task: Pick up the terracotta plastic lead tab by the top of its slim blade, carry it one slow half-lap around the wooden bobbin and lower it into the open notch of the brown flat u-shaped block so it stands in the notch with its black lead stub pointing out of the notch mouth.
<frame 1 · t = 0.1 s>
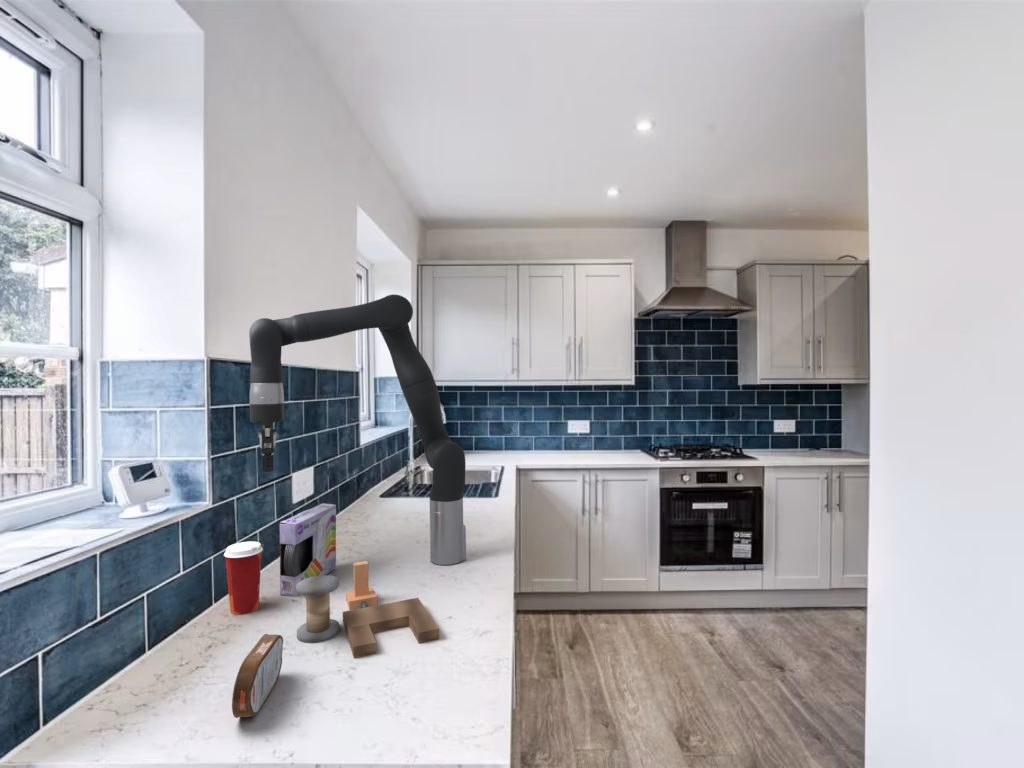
hand: (268, 468, 126), 29 cm above the countertop, fingers open, 8 cm apart
cake pan box: (309, 583, 130), on the countertop
tin: (261, 700, 82), on the countertop
bobbin: (318, 632, 104), on the countertop
brown flat u-shaped block: (389, 629, 105), on the countertop
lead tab: (361, 602, 118), on the countertop
paper cup: (244, 609, 115), on the countertop
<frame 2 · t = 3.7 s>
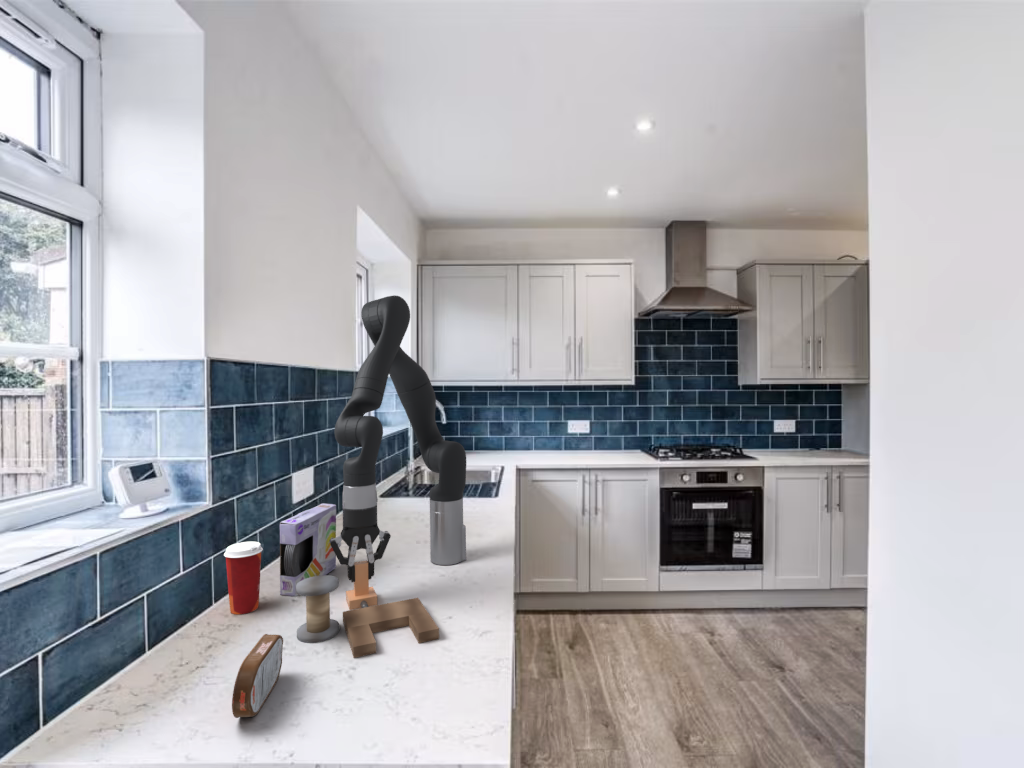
hand: (361, 579, 118), 5 cm above the countertop, fingers closed on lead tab, 3 cm apart
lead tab: (361, 602, 118), on the countertop, touching gripper
everything else where it was.
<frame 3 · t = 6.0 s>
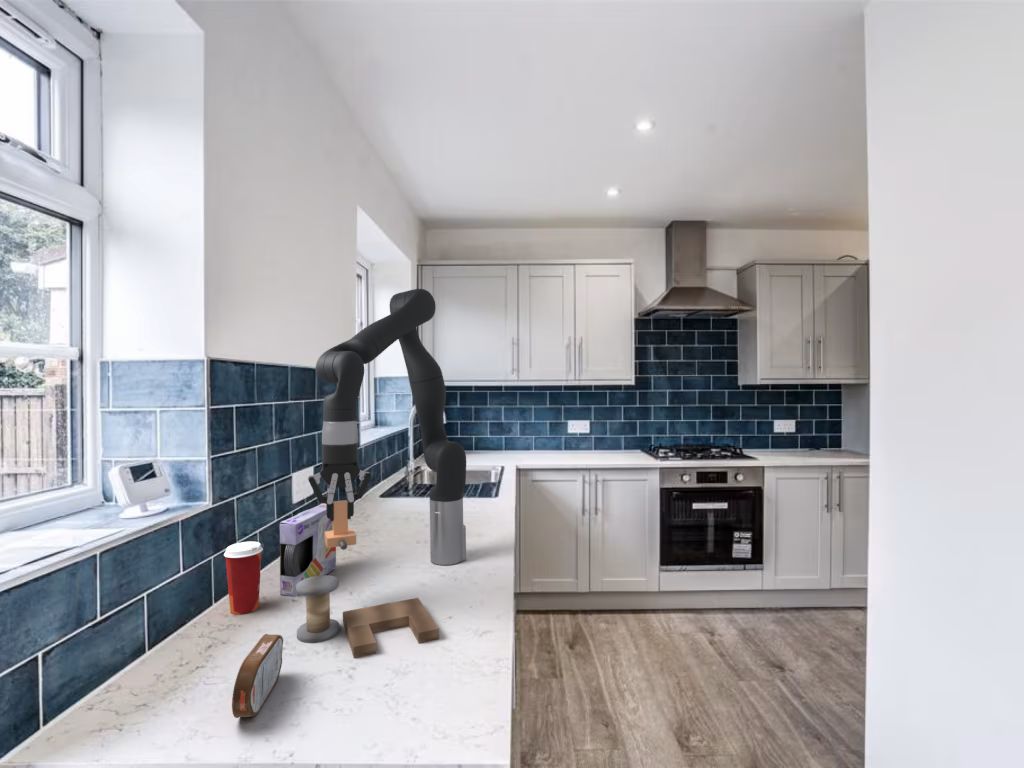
hand: (339, 519, 115), 20 cm above the countertop, fingers closed on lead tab, 3 cm apart
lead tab: (340, 542, 115), point 15 cm above the countertop, touching gripper
everything else where it was.
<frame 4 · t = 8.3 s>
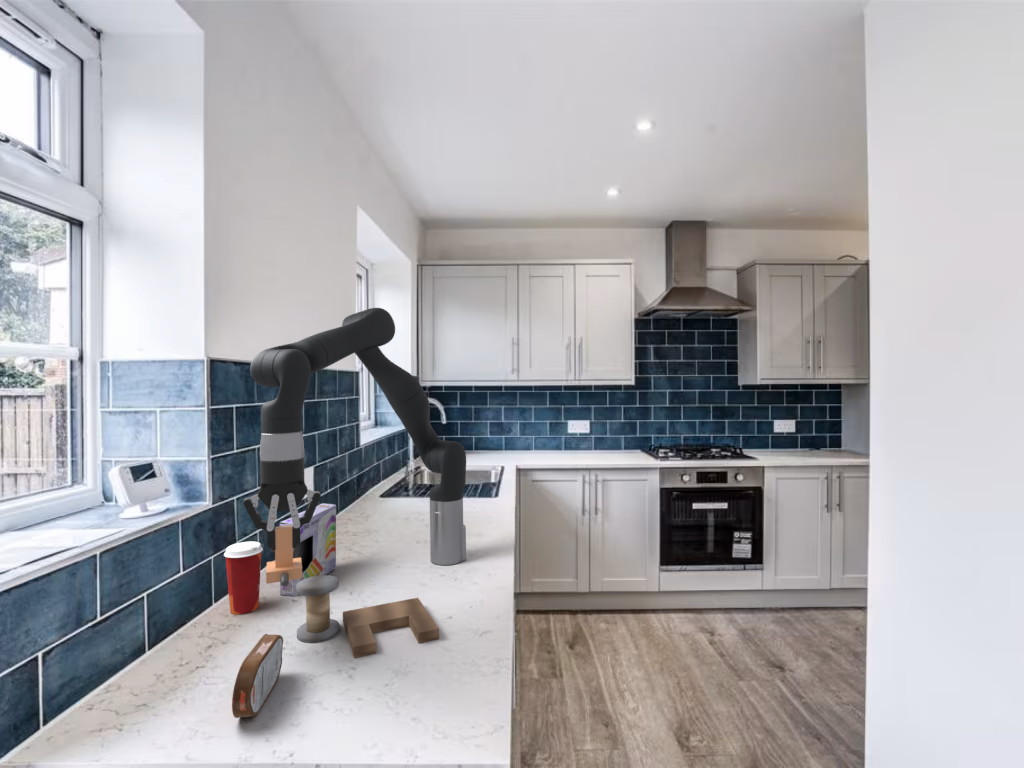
hand: (283, 547, 97), 19 cm above the countertop, fingers closed on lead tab, 3 cm apart
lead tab: (284, 575, 97), point 14 cm above the countertop, touching gripper
everything else where it was.
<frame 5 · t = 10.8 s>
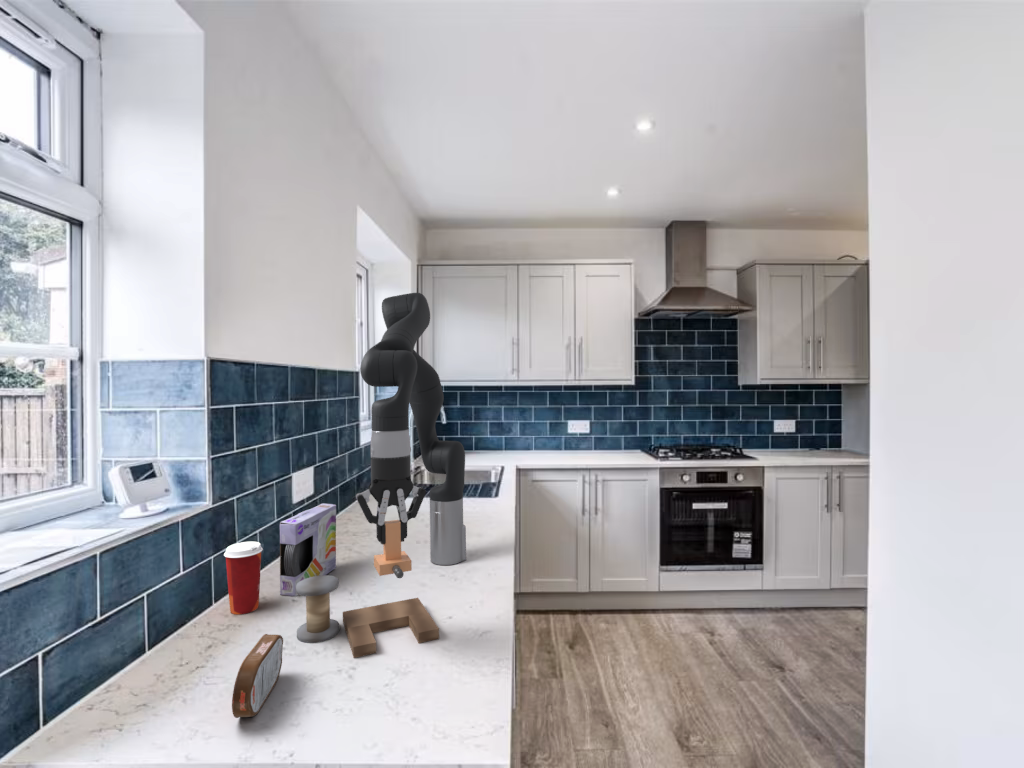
hand: (391, 541, 101), 19 cm above the countertop, fingers closed on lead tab, 3 cm apart
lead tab: (392, 568, 101), point 14 cm above the countertop, touching gripper
everything else where it was.
when the fingers open (7 cm above the countertop, at t = 12.9 s): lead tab drops 2 cm, on the countertop.
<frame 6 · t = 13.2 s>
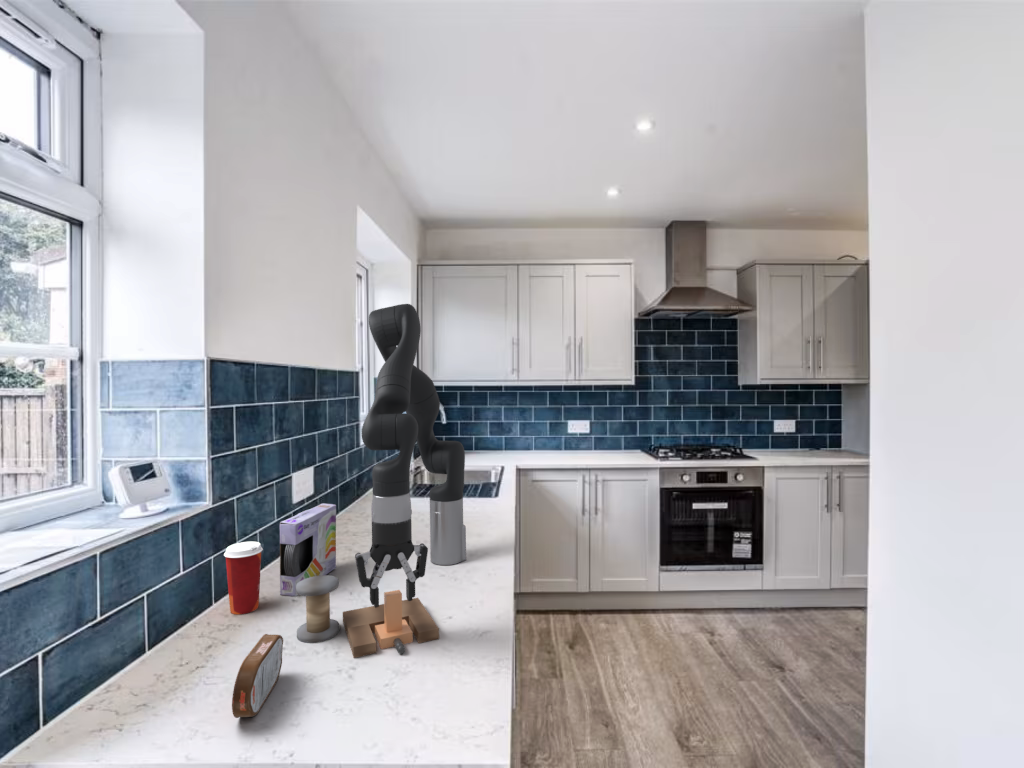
hand: (392, 602, 101), 7 cm above the countertop, fingers open, 6 cm apart
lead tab: (393, 639, 101), on the countertop
everything else where it was.
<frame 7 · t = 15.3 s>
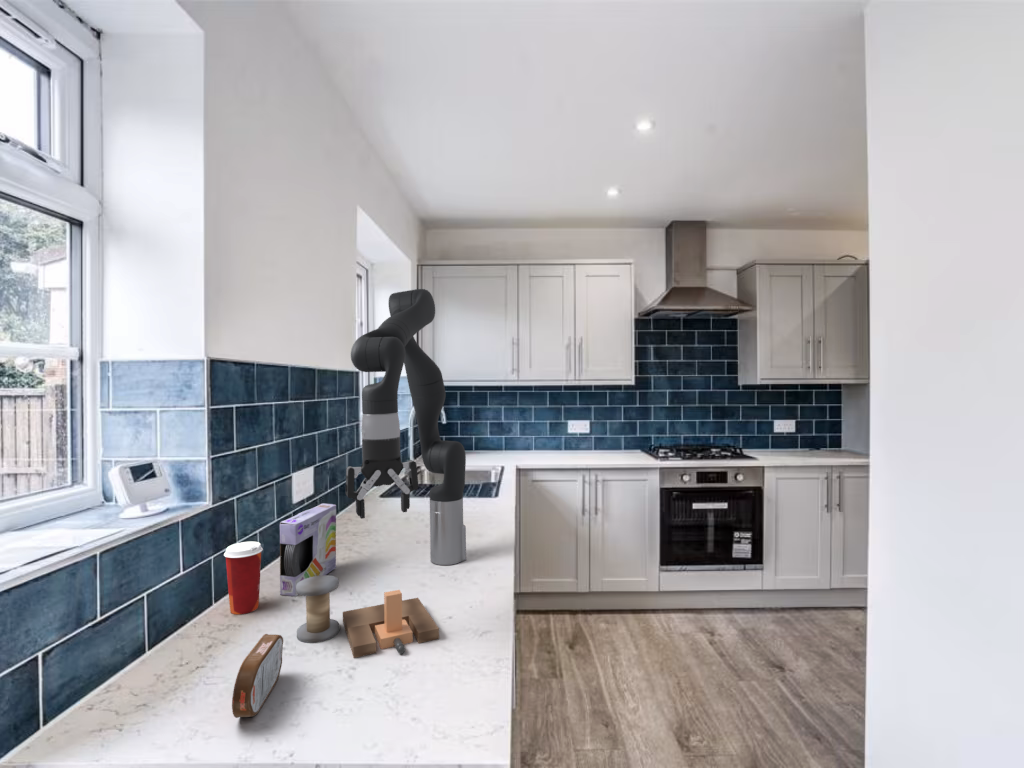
hand: (383, 514, 106), 23 cm above the countertop, fingers open, 8 cm apart
nothing on the countertop moved.
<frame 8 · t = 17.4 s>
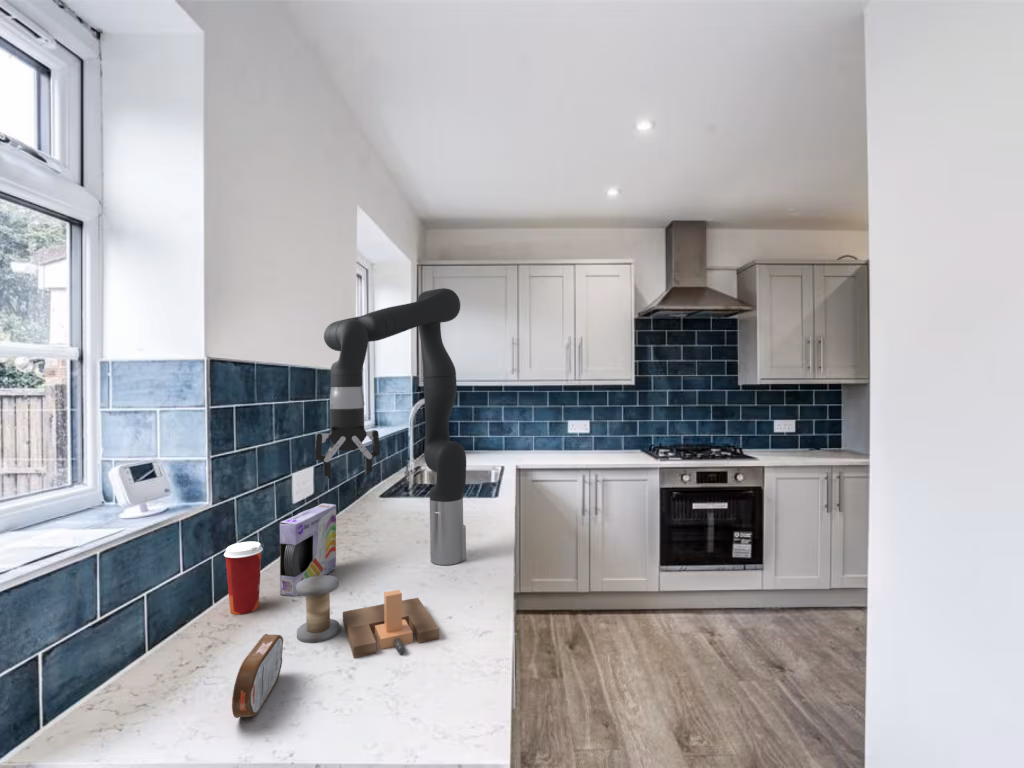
hand: (348, 476, 121), 28 cm above the countertop, fingers open, 8 cm apart
nothing on the countertop moved.
at the end: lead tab 0.8 cm from the target spot on the brown flat u-shaped block, point 0.0 cm above the brown flat u-shaped block's base; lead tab tilted 0°; the gripper is holding nothing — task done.
